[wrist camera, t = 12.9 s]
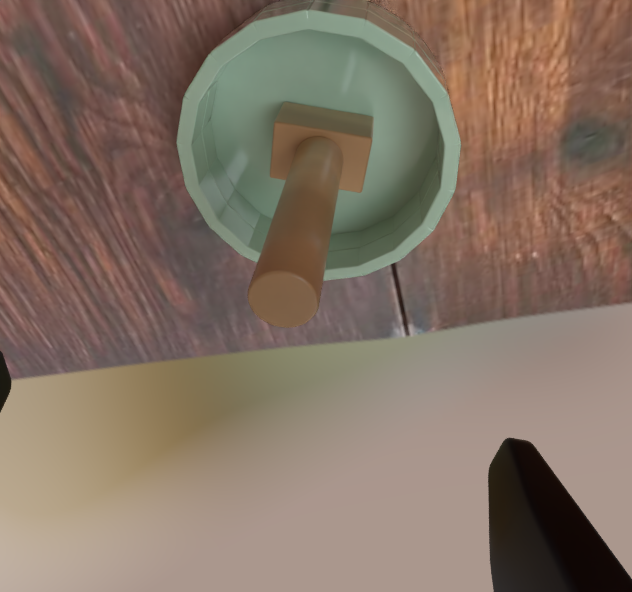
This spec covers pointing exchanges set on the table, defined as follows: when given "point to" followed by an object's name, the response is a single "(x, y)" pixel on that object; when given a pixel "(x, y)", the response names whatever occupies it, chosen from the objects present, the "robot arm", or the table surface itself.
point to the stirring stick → (306, 206)
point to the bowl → (331, 93)
